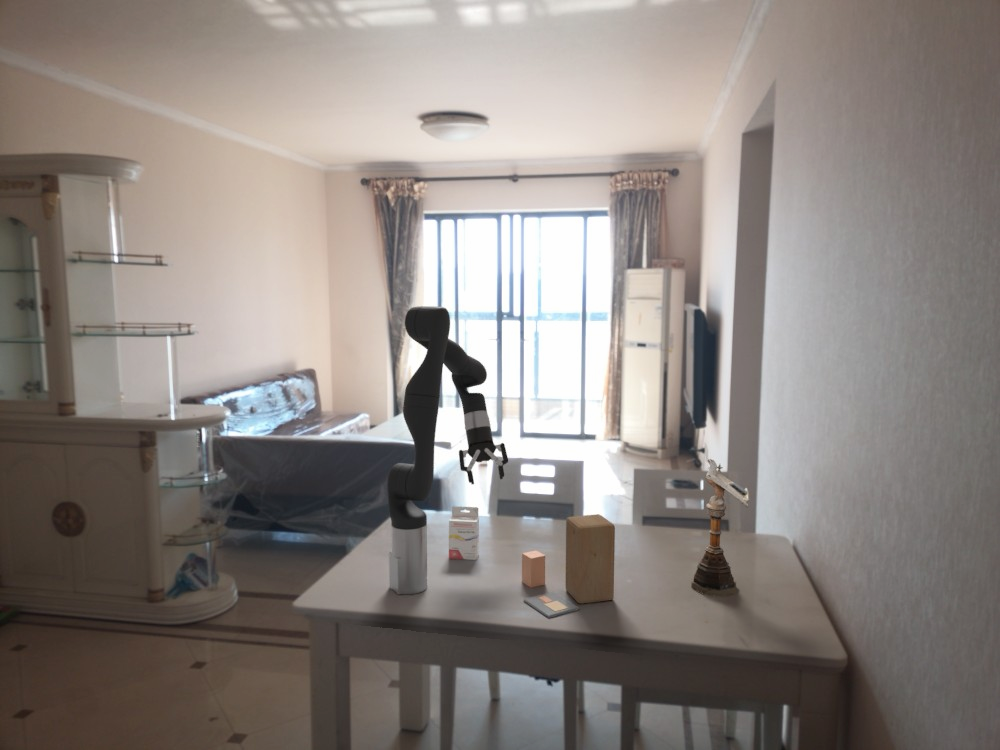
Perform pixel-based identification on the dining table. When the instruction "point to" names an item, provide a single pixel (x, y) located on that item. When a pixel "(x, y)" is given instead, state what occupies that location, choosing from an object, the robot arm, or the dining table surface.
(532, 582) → the terracotta block
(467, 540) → the ink cartridge box
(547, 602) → the tile
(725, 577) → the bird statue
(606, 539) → the wooden block
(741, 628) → the dining table surface
